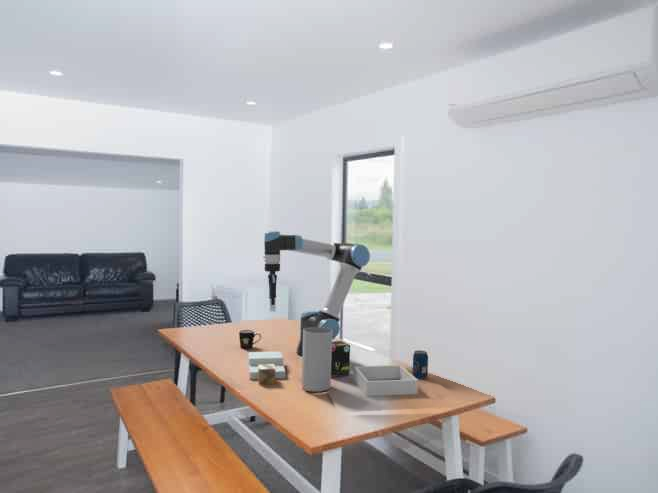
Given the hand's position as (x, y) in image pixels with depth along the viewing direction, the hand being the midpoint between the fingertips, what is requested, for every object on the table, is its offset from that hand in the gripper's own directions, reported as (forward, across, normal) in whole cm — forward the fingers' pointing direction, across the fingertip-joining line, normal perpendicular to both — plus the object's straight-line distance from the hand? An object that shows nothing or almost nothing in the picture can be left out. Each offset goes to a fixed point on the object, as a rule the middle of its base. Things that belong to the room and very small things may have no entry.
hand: (272, 311), depth 235 cm
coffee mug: (+28, -36, -10) cm, 46 cm away
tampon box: (+29, +16, +28) cm, 43 cm away
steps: (+28, +8, -4) cm, 29 cm away
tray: (+29, +36, +45) cm, 64 cm away
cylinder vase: (+28, +33, +15) cm, 46 cm away
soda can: (+30, +26, +66) cm, 77 cm away
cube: (+20, +23, -5) cm, 31 cm away
